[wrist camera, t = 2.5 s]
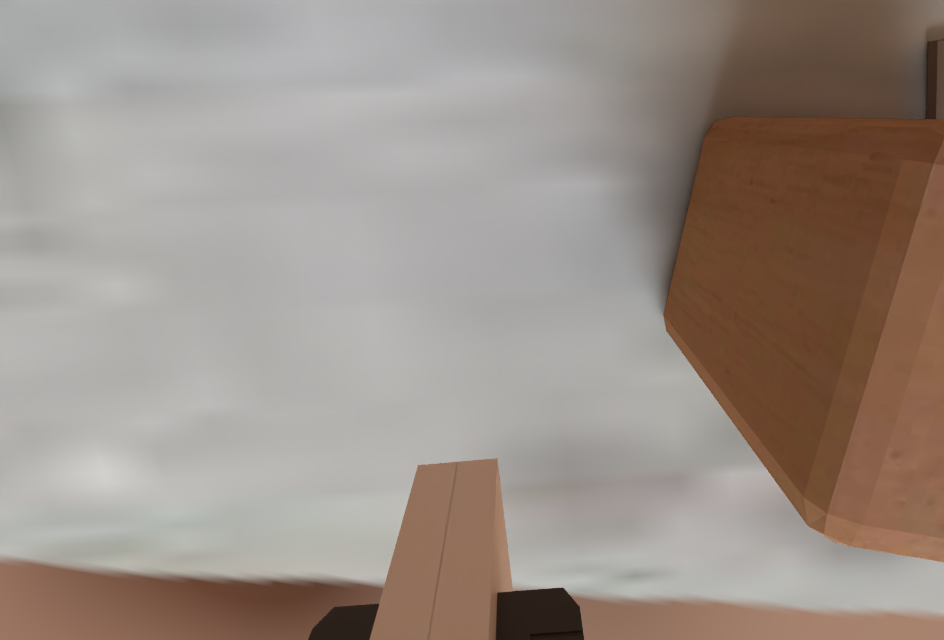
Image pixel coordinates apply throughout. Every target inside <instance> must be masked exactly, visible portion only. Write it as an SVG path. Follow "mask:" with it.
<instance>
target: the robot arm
mask: <svg viewBox="0 0 944 640" xmlns="http://www.w3.org/2000/svg"><path fill="white" fill-rule="evenodd" d="M308 640H584V636H583V628H582V621H581V613H580V607H579V606H578V604H577V603H576V602H575V601H574V600H573V599H572V597H571V596H570V595H569V594H568V593H567V592H566V590H565V589H564V588H552V589H538V590H525V591H512V580H511V571H510V563H509V554H508V546H507V537H506V528H505V520H504V511H503V503H502V494H501V486H500V477H499V468H498V460H497V459H485V460H474V461H462V462H451V463H439V464H428V465H418V467H417V471H416V475H415V478H414V482H413V485H412V489H411V493H410V496H409V500H408V503H407V507H406V510H405V514H404V518H403V521H402V525H401V528H400V532H399V536H398V539H397V543H396V546H395V550H394V554H393V557H392V561H391V564H390V568H389V571H388V575H387V579H386V582H385V586H384V589H383V593H382V597H381V600H380V604H369V605H356V606H343V607H334V608H333V609H332V610H331V611H330V612H329V613H328V614H327V615H326V616H325V617H324V618H323V619H322V620H321V621H320V622H319V623H318V624H317V625H316V626H315V627H314V628H313V629H312V632H311V634H310V636H309V639H308Z"/></svg>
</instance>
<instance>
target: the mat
mask: <svg viewBox="0 0 944 640" xmlns="http://www.w3.org/2000/svg"><path fill="white" fill-rule="evenodd" d="M927 119H944V40H937V41H931V42H928V71H927Z"/></svg>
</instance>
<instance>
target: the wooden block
mask: <svg viewBox="0 0 944 640" xmlns="http://www.w3.org/2000/svg"><path fill="white" fill-rule="evenodd" d="M664 320H665V326H666V331H667V332H668V334H669V335H670V336H671V338H672V339H673V340H674V342H675V343H676V345H677V346H678V347H679V349H680V350H681V351H682V353H683V354H684V356H685V357H686V358H687V360H688V361H689V362H690V364H691V365H692V367H693V368H694V369H695V371H696V372H697V374H698V375H699V376H700V378H701V379H702V380H703V382H704V383H705V385H706V386H707V387H708V389H709V390H710V391H711V393H712V394H713V396H714V397H715V398H716V400H717V401H718V402H719V404H720V405H721V407H722V408H723V409H724V411H725V412H726V414H727V415H728V416H729V418H730V419H731V420H732V422H733V423H734V425H735V426H736V427H737V429H738V430H739V431H740V433H741V434H742V436H743V437H744V438H745V440H746V441H747V442H748V444H749V445H750V447H751V448H752V449H753V451H754V452H755V454H756V455H757V456H758V458H759V459H760V460H761V462H762V463H763V465H764V466H765V467H766V469H767V470H768V471H769V473H770V474H771V476H772V477H773V478H774V480H775V481H776V482H777V484H778V485H779V487H780V488H781V489H782V491H783V492H784V493H785V495H786V496H787V498H788V499H789V500H790V502H791V503H792V505H793V506H794V507H795V509H796V510H797V511H798V513H799V514H800V516H801V517H802V518H803V520H804V521H805V522H806V524H807V525H808V526H809V527H811V528H812V529H814V530H816V531H817V532H819V533H821V534H822V535H824V536H825V537H827V538H829V539H830V540H832V541H834V542H837V543H841V544H844V545H847V546H852V547H858V548H864V549H870V550H876V551H881V552H887V553H893V554H899V555H905V556H911V557H917V558H923V559H928V560H934V561H940V562H944V119H874V118H789V117H731V118H726V119H722V120H718V121H715V122H714V124H713V125H712V127H711V128H710V130H709V131H708V133H707V134H706V136H705V138H704V142H703V146H702V151H701V155H700V159H699V164H698V168H697V172H696V177H695V181H694V185H693V189H692V194H691V198H690V202H689V207H688V211H687V215H686V220H685V224H684V228H683V233H682V237H681V241H680V246H679V250H678V254H677V259H676V263H675V267H674V272H673V276H672V280H671V285H670V289H669V293H668V298H667V302H666V306H665V311H664Z"/></svg>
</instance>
